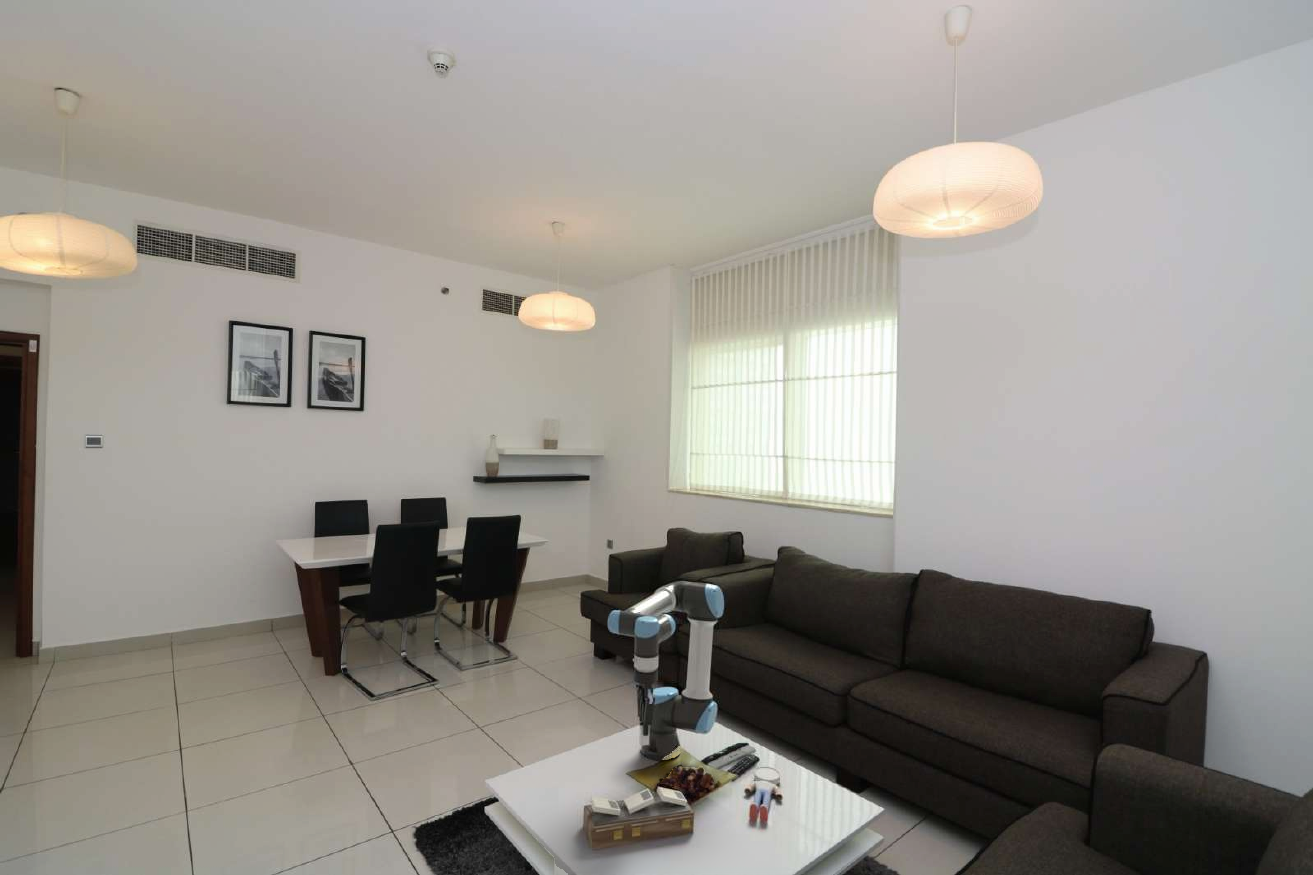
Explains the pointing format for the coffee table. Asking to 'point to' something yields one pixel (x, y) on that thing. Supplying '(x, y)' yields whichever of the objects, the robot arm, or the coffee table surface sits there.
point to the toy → (763, 791)
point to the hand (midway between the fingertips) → (644, 744)
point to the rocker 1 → (605, 805)
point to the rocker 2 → (671, 796)
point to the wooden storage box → (637, 824)
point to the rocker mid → (639, 801)
